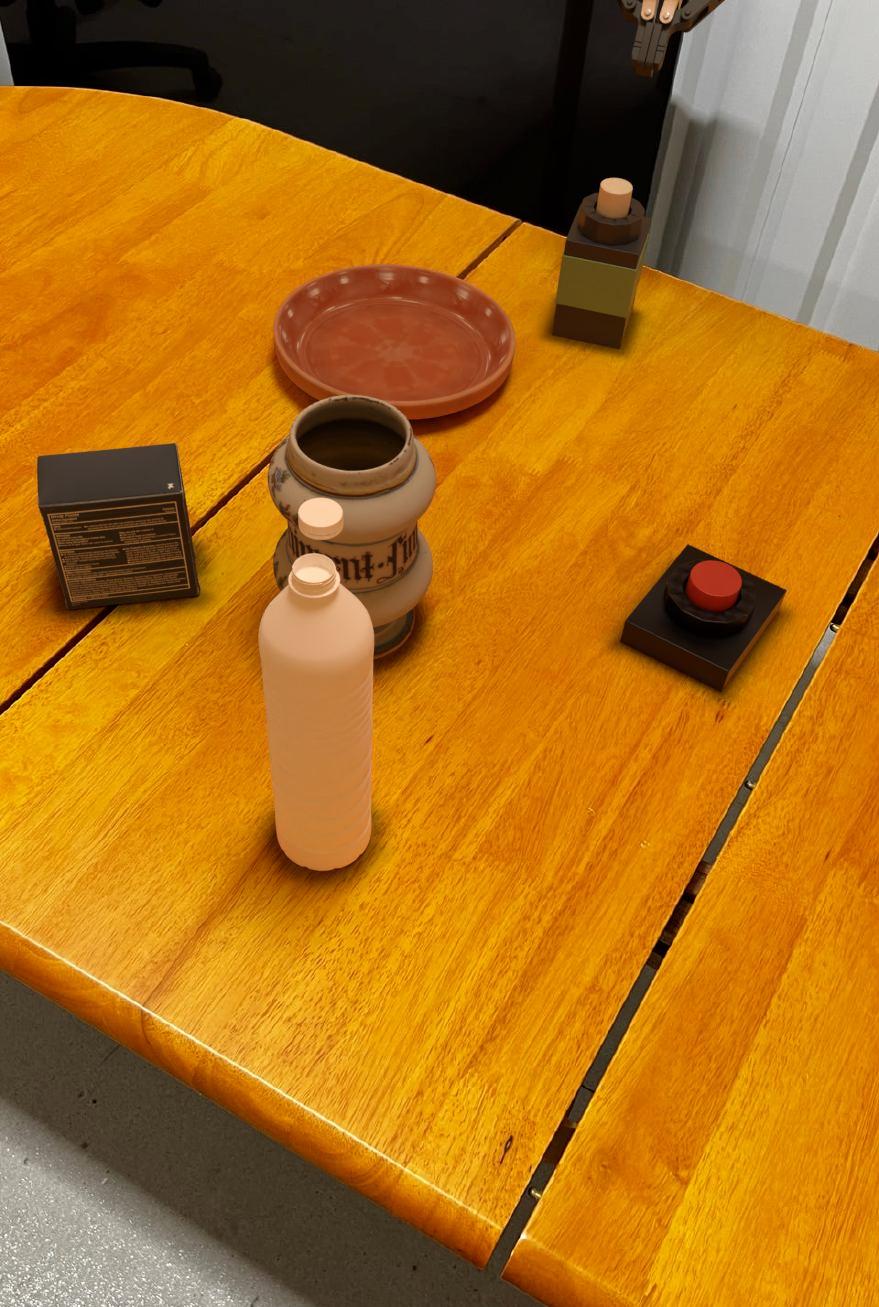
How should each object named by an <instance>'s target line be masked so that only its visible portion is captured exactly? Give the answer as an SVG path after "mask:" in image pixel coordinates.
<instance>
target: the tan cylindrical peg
mask: <svg viewBox="0 0 879 1307" xmlns="http://www.w3.org/2000/svg"><path fill="white" fill-rule="evenodd" d="M633 190H634V188H633V185H632V183H631V182H630V181H628V180H627V179H623V178H620V177H609V178H605V179H603V180H602V181H601V182H600V185H599V190H598V191H599V192H598V193H599V196H598V202H597V208H596V211H597V213H599V214H601V215H603V216H604V217H609V218H624V217H626V216H627V215H628V211H629V206H630V201H631V198H632V194H633Z"/></svg>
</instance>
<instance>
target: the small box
mask: <svg viewBox="0 0 879 1307" xmlns="http://www.w3.org/2000/svg"><path fill="white" fill-rule="evenodd" d="M36 480H37V482H36V484H37V485H36V486H37V506H38V510H39V513H40V516H41V517H42V521H43V525H44V527H45V531H46V535H47V538H48V543H49V547H50V550H51V551H50V552H51V554H52V557H53V561H54V565H55V568H56V571H57V575H58V580H59V583H60V586H61V589H62V593H63V598H64V606H65V608H66V609H67V610H78V609H87V608H88V609H89V608H95V607H105V606H112V605H113V606H114V605H121V604H131V603H141V602H148V601H149V602H151V601H158V600H166V599H174V598H175V599H176V598H184V597H192V596H193V597H194V596H198V595H199V594H200V593H201V586H200V582H199V578H198V575H199V574H198V571H197V562H196V558H197V557H196V553H195V552H196V551H195V548H194V547H195V546H194V541H193V535H192V528H191V523H190V517H189V511H188V503H187V498H186V497H187V496H186V492H185V484H184V479H183V473H182V467H181V461H180V455H179V447H178V444H177V443H176V442H171V443H160V444H152V445H151V444H150V445H139V446H130V447H129V446H128V447H121V448H110V449H97V450H88V451H78V452H67V453H56V454H44V455H38V456H37V459H36Z"/></svg>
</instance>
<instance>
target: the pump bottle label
mask: <svg viewBox="0 0 879 1307" xmlns="http://www.w3.org/2000/svg"><path fill="white" fill-rule="evenodd" d="M649 237H650V232H648V235H647V238H646V241H645V244H644V247H643V250H642V253H641V256H640V259H639V262H638V265H637V268H636V269H630V268H625V267H620V266H616V265H611V264H606V263H601V262H596V261H591V260H586V259H581V258H576V257H571V256H566V255H564V252H563V253H562V255H561V261H560V267H559V268H560V269H559V276H558V281H557V282H558V283H557V288H556V296H555V304H556V303H557V304H561V305H566V306H571V307H576V308H581V309H586V310H590V311H595V312H600V313H605V314H610V315H614V316H619V317H624V318H627V317H628V314H629V311H630V308H631V305H632V302H633V299H634V296H635V293H636V294H637V291H636V290H638V286H639V283H640V281H641V276H642V271H643V267H644V262H645V257H646V253H647V248H648V247H647V246H648V242H649ZM635 297H636V296H635Z"/></svg>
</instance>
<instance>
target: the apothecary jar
mask: <svg viewBox="0 0 879 1307" xmlns="http://www.w3.org/2000/svg"><path fill="white" fill-rule="evenodd" d="M288 433H289V434H288V435H286V437H285V438H284V439H283V440H282V441H281V442H280V443H279V444H278V446H277V447H276V449H275V451H273V452H274V453H273V454H272V455H271V459H270V461H269V465H268V468H267V469H268V470H267V487H268V491H269V492H268V493H269V495H270V498H271V501H272V502H273V504H274V506H275V508H276V509H277V510H278V512H279V513H280V514H281V516H283V518H284V519H285V520H287V528H286V529H285V530H284V531H283V533H282V534H281V535H280V538H278V541H277V544H276V546H275V549H274V552H273V559H272V569H273V575H274V579H275V583H276V585H277V587H278V589H279V591H280V592H281V591H282V590H283V589H284V588H285V587H287V586H288V585H289V582H288V578H289V575H290V573H291V571H292V566H293V564H294V562H295V561H296V560H297V559H298V558H299V557H301V556H303V555H306V554H312V553H316V554H322V555H325V556H327V557H328V558H330V559H331V560H332V561H333V563H334V564H335V567H336V571H337V572H338V573H339V576H340V584H342V585H343V586H344V587H345V588H346V589H347V590H349V591H350V592H351V593H352V594H353V595H354V596H355V597H357V598H358V599H359V601H360V602H361V603H362V604H363V605H364V607H365V608H366V609H367V611H368V613H369V615H370V619H371V622H372V625H373V630H374V654H373V661H374V660H377V659H382V658H384V657H386V656H388V655H390V654H392V653H394V652H396V651H397V650H398V649H399V648H401V647H402V646H403V645H404V644H405V643H406V642H407V641H408V639H409V638H410V636H411V634H412V632H413V630H414V626H415V621H416V619H415V618H416V613H415V607H416V606H417V605H418V604H419V603H420V602H421V601H422V600H423V598H424V596H425V595H426V593H427V592H428V589H429V587H430V585H431V582H432V578H433V572H434V560H433V554H432V551H431V547H430V544H429V543H428V541H427V539H426V537H425V535H424V534H423V533H422V532H421V530H420V529H419V528H418V527H419V526H418V523H419V522H418V520H419V519H421V517H423V515H424V514H425V513H426V512H427V510H428V509H429V507H430V505H431V504H432V503H433V502H432V501H433V499H434V497H435V493H436V489H437V488H436V487H437V473H436V469H435V468H436V467H435V465H434V462H433V459H432V456H431V455H430V453H429V451H428V449H427V448H426V447H425V446H424V445H423V443H422V442H421V441H420V440H419V439H418V438H417V437H416V436H415V435H414V432H413V427H412V425H411V422H410V421H409V420H408V419H407V418H406V416H405V415H404V414H403V413H402V412H401V411H399V410H398V409H397V408H395V407H394V406H392V405H391V404H389V403H387V402H385V401H382V400H379V399H376V398H372V397H368V396H361V395H341V396H335V397H330V398H326V399H324V400H321V401H319V400H317V401H315V402H314V403H312V404H310V405H309V406H307V407H305V408H304V409H303V410H301V411H300V413H298V414H297V415H296V417H295V418H294V419H293V421H292V424H291V426H290V429H289V432H288ZM314 498H327V499H331V500H333V501H335V502H337V503H338V504H339V505H340V506H341V508H342V510H343V529H342V531H341V532H340V533H339V534H338V535H337V536H335V537H333V538H331V539H327V540H315V539H311V538H309V537H307V536H305V535H304V534H303V533H302V532H301V531H300V529H299V524H298V510H299V508H300V506H301V505H302V504H303V503H304V502H306V501H308V500H310V499H314ZM336 532H337V531H336ZM308 534H309V533H308ZM311 535H312V534H311ZM330 535H331V534H330ZM316 536H317V535H316ZM325 536H327V535H325Z"/></svg>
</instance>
